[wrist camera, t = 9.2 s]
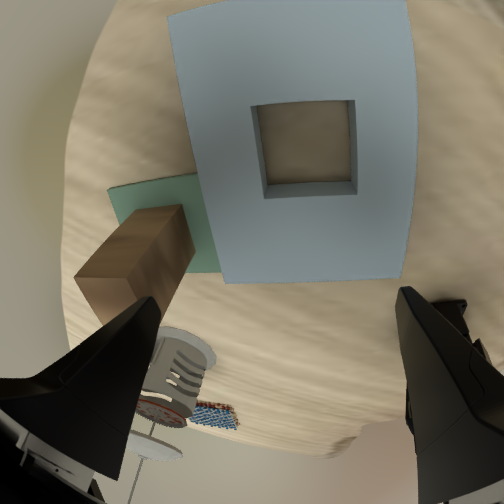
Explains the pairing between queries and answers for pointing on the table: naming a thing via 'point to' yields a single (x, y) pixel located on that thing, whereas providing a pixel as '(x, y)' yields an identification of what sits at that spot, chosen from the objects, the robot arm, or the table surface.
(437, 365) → the robot arm
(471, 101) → the table surface
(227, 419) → the woven mat
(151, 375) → the french press
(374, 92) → the pocket board
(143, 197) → the green pad
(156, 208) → the walnut block
